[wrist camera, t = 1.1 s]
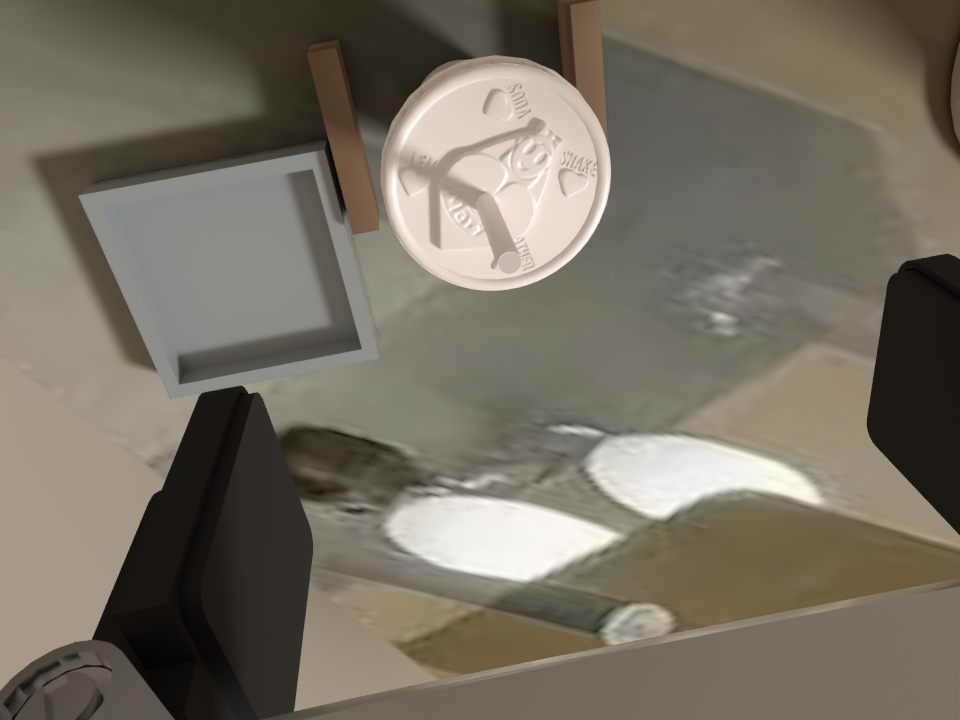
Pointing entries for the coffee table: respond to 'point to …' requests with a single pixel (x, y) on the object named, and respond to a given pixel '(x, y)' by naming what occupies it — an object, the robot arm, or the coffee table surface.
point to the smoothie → (494, 172)
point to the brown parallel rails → (342, 125)
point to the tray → (237, 267)
